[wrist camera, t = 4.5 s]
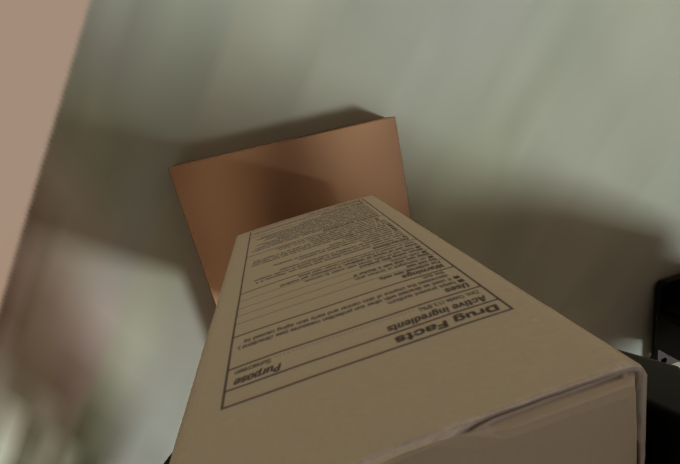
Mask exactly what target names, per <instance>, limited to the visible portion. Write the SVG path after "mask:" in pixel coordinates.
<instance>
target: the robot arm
mask: <svg viewBox="0 0 680 464" xmlns="http://www.w3.org/2000/svg"><path fill="white" fill-rule="evenodd" d="M618 351H620V352H621V353H623V354H624V355H626V356H627V357H629V358H631V359H632V360H634V361H636V362H637V363H639V364H640V365H641V366H642V367H643V368H644V370H645V372H646V373H647V399H646V442H645V453H646V454H645V464H680V368H679V367H678V366H675V365H671V364H673V363H676V362H679V361H680V275H676V276H673V277H670V278H667V279H664V280H661V281H660V282H658V283H657V285H656V288H655V303H654V324H653V345H652V359H649V358H646V357H642V356H639V355H635V354H631V353H628V352H624V351H621V350H618ZM172 453H173V452H172ZM172 453H171V455H170V456H169V457H168V459H167V460H166V461H165V462H164V464H169V463H170V460H171V456H172Z"/></svg>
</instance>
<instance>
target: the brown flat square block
mask: <svg viewBox="0 0 680 464" xmlns="http://www.w3.org/2000/svg"><path fill="white" fill-rule="evenodd" d="M168 169H169V172H170V175H171V178H172V181H173V184H174V186H175V189H176V192H177V195H178V198H179V201H180V204H181V206H182V209H183V212H184V215H185V218H186V221H187V224H188V226H189V229H190V232H191V235H192V238H193V241H194V244H195V246H196V249H197V252H198V255H199V258H200V261H201V264H202V266H203V269H204V272H205V275H206V278H207V281H208V284H209V286H210V289H211V292H212V295H213V298H214V301H215V304H216V305H217V302H218V298H219V295H220V291H221V288H222V284H223V282H224V278H225V274H226V271H227V268H228V265H229V261H230V258H231V254H232V251H233V247H234V244H235V241H236V238H237V236H238V235H241V234H243V233H247V232H250V231H253V230H255V229H258V228H261V227H264V226H267V225H270V224H274V223H277V222H280V221H283V220H286V219H289V218H293V217H296V216H299V215H303V214H306V213H309V212H312V211H316V210H319V209H322V208H326V207H329V206H333V205H337V204H340V203H344V202H348V201H351V200H355V199H359V198H363V197H367V196H375V197H377V198H378V199H380V200H381V201H383V202H384V203H386V204H387V205H389V206H391V207H392V208H394V209H395V210H397V211H399V212H400V213H402V214H403V215H405V216H407V217H408V218H410V219H411V216H410V209H409V203H408V197H407V190H406V184H405V177H404V171H403V165H402V158H401V152H400V145H399V139H398V132H397V126H396V120H395V117H385V118H381V119H376V120H372V121H367V122H363V123H358V124H354V125H350V126H345V127H341V128H336V129H332V130H327V131H323V132H319V133H314V134H310V135H305V136H301V137H296V138H292V139H287V140H283V141H279V142H274V143H270V144H265V145H261V146H256V147H252V148H248V149H243V150H239V151H234V152H230V153H225V154H221V155H216V156H212V157H208V158H203V159H199V160H194V161H190V162H185V163H181V164H177V165H174V166H172V167H169V168H168Z"/></svg>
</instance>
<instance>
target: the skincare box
mask: <svg viewBox="0 0 680 464" xmlns="http://www.w3.org/2000/svg"><path fill="white" fill-rule="evenodd" d="M646 399H647V373H646V372H645V370H644V368H643V367H642V366H641V365H640V364H639V363H637V362H636V361H634V360H632V359H631V358H629V357H627V356H626V355H624V354H623V353H621V352H620V351H618V350H617V349H615V348H614V347H612V346H610V345H609V344H607V343H606V342H604V341H602V340H601V339H599V338H598V337H596V336H594V335H593V334H591V333H590V332H588V331H586V330H585V329H583V328H582V327H580V326H578V325H577V324H575V323H574V322H572V321H570V320H569V319H567V318H566V317H564V316H563V315H561V314H560V313H558V312H557V311H555V310H554V309H552V308H551V307H549V306H547V305H545V304H543V303H542V302H540V301H538V300H537V299H535V298H534V297H532V296H531V295H529V294H528V293H526V292H525V291H523V290H521V289H520V288H518V287H517V286H515V285H514V284H512V283H511V282H509V281H507V280H506V279H504V278H503V277H501V276H500V275H498V274H496V273H495V272H493V271H492V270H490V269H488V268H487V267H485V266H484V265H482V264H481V263H479V262H478V261H476V260H474V259H473V258H471V257H470V256H468V255H467V254H465V253H463V252H462V251H460V250H459V249H457V248H455V247H454V246H452V245H451V244H449V243H448V242H446V241H444V240H443V239H441V238H440V237H438V236H437V235H435V234H434V233H432V232H430V231H429V230H427V229H426V228H424V227H422V226H421V225H419V224H417V223H416V222H414V221H413V220H411V219H410V218H408V217H407V216H405V215H403V214H402V213H400V212H399V211H397V210H395V209H394V208H392V207H391V206H389V205H387V204H386V203H384V202H383V201H381V200H380V199H378V198H377V197H375V196H367V197H363V198H359V199H355V200H351V201H348V202H344V203H340V204H337V205H333V206H329V207H326V208H322V209H319V210H316V211H312V212H309V213H306V214H303V215H299V216H296V217H293V218H289V219H286V220H283V221H280V222H277V223H274V224H270V225H267V226H264V227H261V228H258V229H255V230H253V231H250V232H247V233H243V234H241V235H238V236H237V238H236V241H235V244H234V247H233V251H232V254H231V258H230V261H229V265H228V268H227V271H226V274H225V278H224V282H223V284H222V288H221V291H220V295H219V298H218V302H217V305H216V309H215V312H214V315H213V318H212V322H211V325H210V328H209V332H208V334H207V338H206V342H205V345H204V349H203V352H202V355H201V359H200V362H199V365H198V368H197V372H196V376H195V379H194V382H193V386H192V389H191V392H190V396H189V399H188V403H187V406H186V409H185V413H184V416H183V419H182V423H181V426H180V429H179V432H178V436H177V439H176V442H175V446H174V449H173V453H172V456H171V460H170V463H169V464H645V454H646V453H645V442H646Z"/></svg>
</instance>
